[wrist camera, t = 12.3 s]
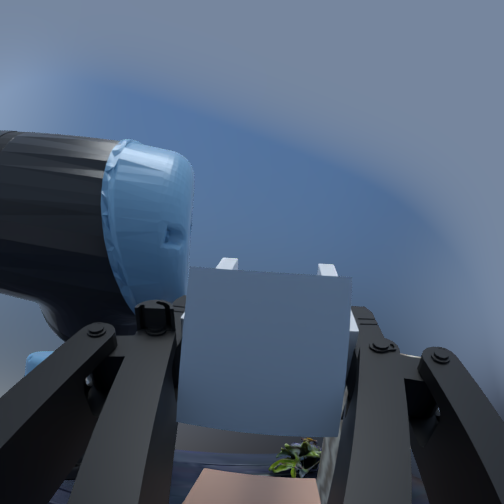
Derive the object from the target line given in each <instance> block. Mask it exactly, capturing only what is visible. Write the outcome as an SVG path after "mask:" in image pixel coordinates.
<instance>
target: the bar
mask: <svg viewBox="0 0 504 504" xmlns="http://www.w3.org/2000/svg"><path fill="white" fill-rule="evenodd" d="M351 293H352V277H340V276H322V275H305V274H289V273H272V272H258V271H244V270H230V269H216V268H202V267H190V270H189V278H188V287H187V296H186V305H185V314H184V324H183V334H182V345H181V357H180V370H179V384H178V399H177V417H176V422H181V423H186V424H191V425H197V426H203V427H209V428H216V429H222V430H229V431H237V432H246V433H256V434H267V435H280V436H299V437H301V436H302V437H338V433H339V426H340V420H341V412H342V405H343V397H344V388H345V379H346V369H347V358H348V346H349V333H350V316H351Z"/></svg>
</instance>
